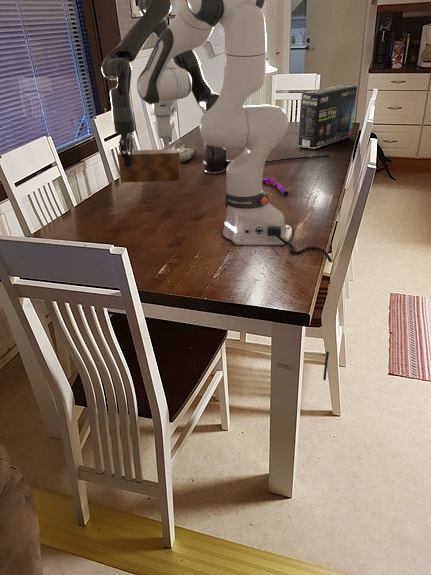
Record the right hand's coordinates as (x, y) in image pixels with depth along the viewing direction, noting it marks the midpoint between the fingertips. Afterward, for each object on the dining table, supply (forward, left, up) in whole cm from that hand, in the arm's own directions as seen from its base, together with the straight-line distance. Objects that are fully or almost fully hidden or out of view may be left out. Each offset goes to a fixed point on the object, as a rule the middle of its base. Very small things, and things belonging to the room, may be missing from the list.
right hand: (168, 144), depth 172 cm
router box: (-52, -92, -20) cm, 108 cm away
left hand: (+15, +4, -7) cm, 17 cm away
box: (+8, +2, -13) cm, 15 cm away
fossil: (+17, -52, -20) cm, 59 cm away
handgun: (-37, -16, -20) cm, 45 cm away
